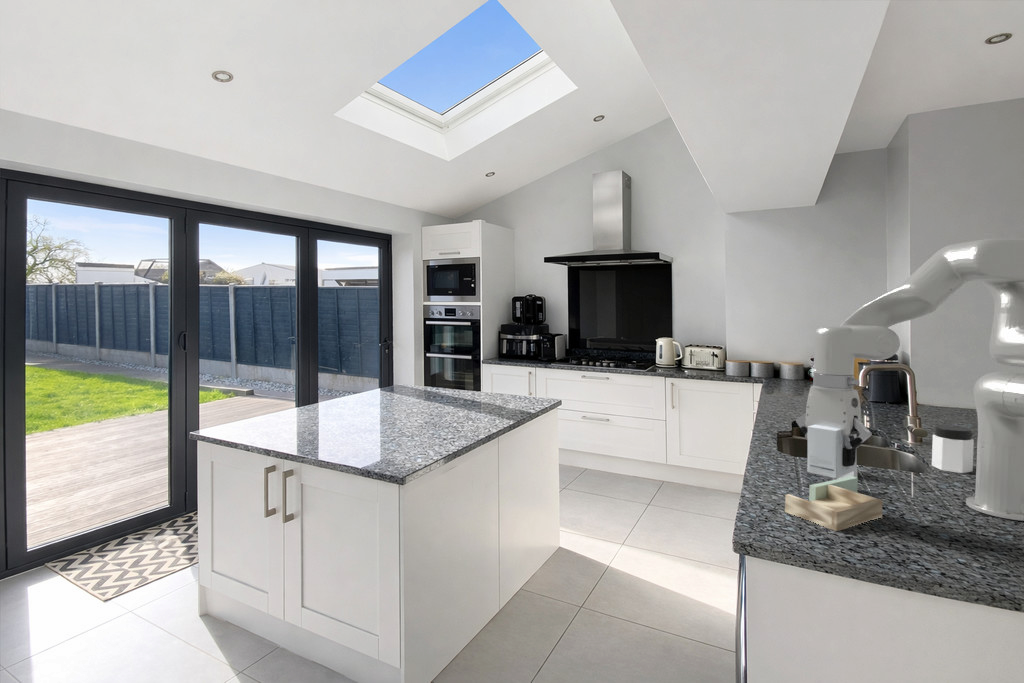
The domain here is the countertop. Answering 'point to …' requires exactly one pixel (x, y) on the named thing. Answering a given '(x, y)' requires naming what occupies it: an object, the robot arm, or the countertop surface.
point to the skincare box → (826, 452)
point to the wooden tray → (836, 508)
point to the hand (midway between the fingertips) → (830, 460)
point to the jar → (952, 449)
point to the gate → (844, 482)
